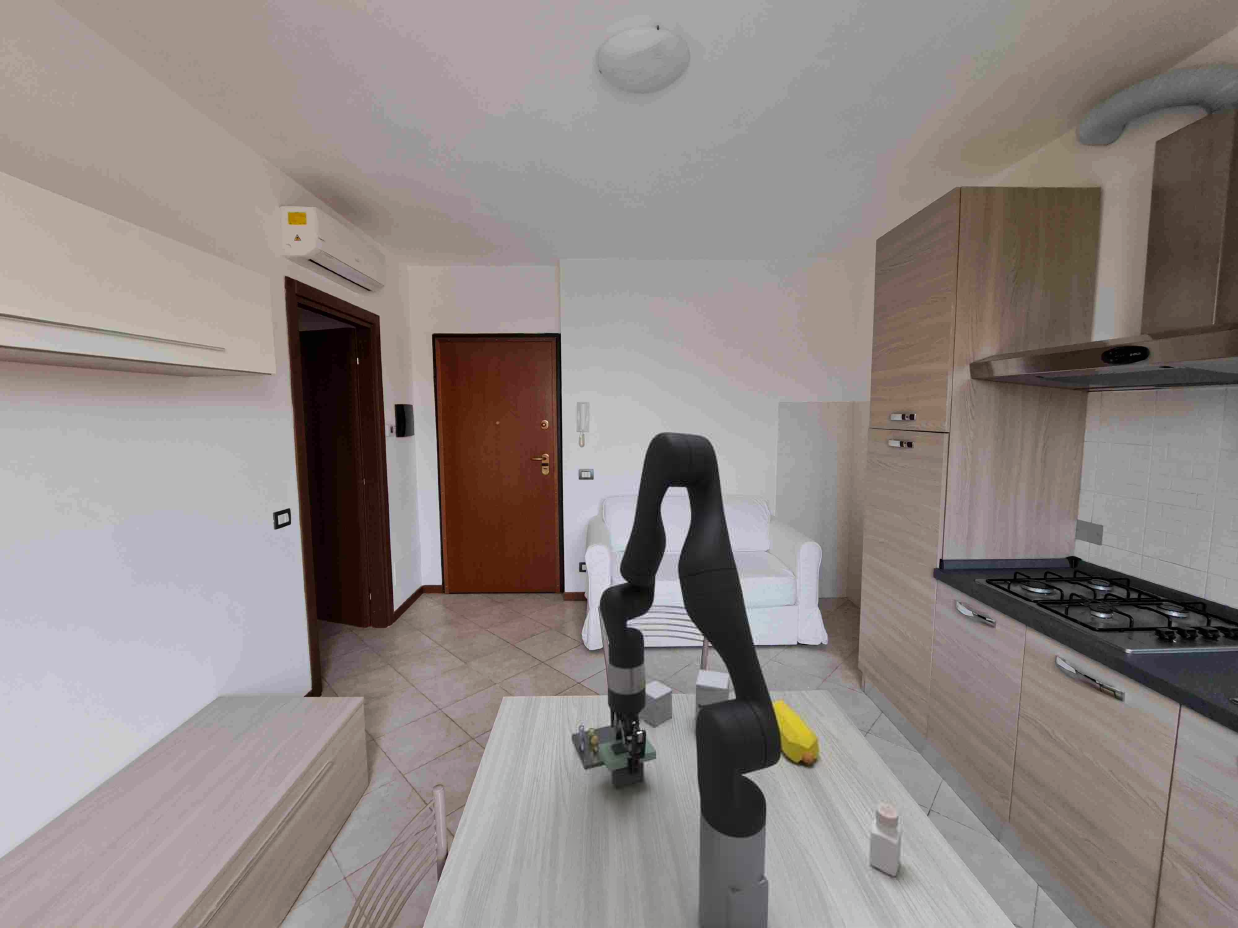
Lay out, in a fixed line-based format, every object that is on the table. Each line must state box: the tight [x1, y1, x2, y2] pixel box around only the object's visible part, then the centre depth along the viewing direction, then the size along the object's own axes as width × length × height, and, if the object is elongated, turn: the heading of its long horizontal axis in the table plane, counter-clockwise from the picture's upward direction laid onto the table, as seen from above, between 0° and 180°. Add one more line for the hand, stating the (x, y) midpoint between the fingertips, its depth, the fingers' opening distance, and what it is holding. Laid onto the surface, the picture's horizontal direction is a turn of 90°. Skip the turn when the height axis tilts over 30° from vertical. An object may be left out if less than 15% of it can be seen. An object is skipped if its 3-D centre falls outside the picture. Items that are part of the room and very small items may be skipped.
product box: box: [638, 680, 673, 728], centre depth 121 cm, size 6×6×7 cm
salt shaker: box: [868, 802, 902, 877], centre depth 81 cm, size 4×4×10 cm
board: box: [599, 736, 657, 773], centre depth 99 cm, size 10×6×2 cm, turn 111°
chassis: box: [571, 724, 631, 770], centre depth 111 cm, size 14×11×6 cm
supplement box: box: [694, 669, 731, 736], centre depth 116 cm, size 7×7×13 cm
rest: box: [611, 762, 645, 791], centre depth 100 cm, size 6×2×4 cm, turn 110°
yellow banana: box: [772, 699, 820, 765], centre depth 112 cm, size 18×7×8 cm
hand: (627, 762), depth 99 cm, fingers closed on board, 6 cm apart
